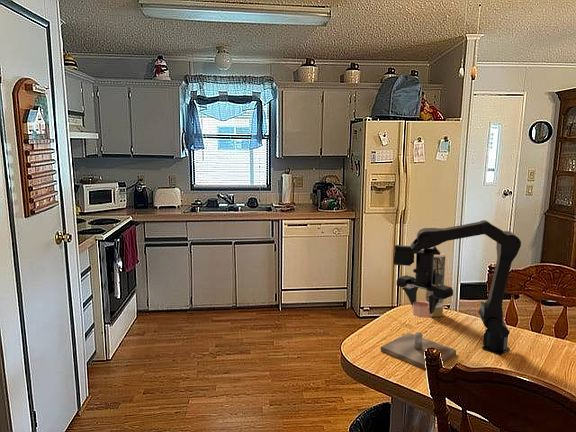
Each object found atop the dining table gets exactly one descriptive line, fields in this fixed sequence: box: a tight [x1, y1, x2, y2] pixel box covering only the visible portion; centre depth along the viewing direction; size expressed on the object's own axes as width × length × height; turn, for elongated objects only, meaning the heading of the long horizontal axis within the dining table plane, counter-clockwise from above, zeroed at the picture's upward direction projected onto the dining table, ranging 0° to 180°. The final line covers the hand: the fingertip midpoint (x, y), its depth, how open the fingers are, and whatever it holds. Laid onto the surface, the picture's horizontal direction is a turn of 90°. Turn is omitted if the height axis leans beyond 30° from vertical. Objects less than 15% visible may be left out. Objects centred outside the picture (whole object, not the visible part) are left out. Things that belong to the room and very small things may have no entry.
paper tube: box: [424, 251, 446, 318], centre depth 176 cm, size 7×7×25 cm
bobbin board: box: [380, 331, 457, 371], centre depth 146 cm, size 18×16×6 cm
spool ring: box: [412, 300, 433, 319], centre depth 152 cm, size 6×6×4 cm
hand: (422, 310), depth 152 cm, fingers closed on spool ring, 6 cm apart
